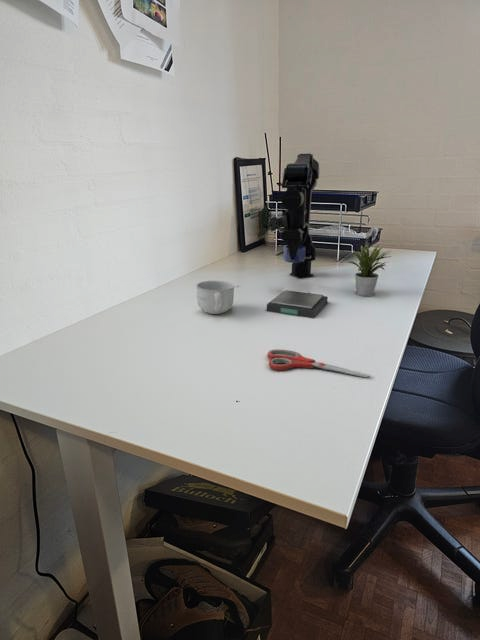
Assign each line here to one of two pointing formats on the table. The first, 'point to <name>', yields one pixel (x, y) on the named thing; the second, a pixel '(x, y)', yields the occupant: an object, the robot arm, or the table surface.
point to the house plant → (367, 270)
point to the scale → (297, 308)
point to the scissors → (302, 362)
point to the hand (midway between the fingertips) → (294, 257)
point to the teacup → (215, 296)
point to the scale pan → (298, 299)
